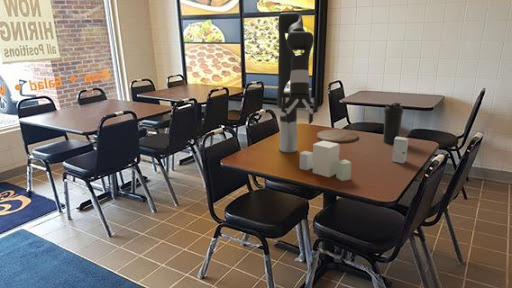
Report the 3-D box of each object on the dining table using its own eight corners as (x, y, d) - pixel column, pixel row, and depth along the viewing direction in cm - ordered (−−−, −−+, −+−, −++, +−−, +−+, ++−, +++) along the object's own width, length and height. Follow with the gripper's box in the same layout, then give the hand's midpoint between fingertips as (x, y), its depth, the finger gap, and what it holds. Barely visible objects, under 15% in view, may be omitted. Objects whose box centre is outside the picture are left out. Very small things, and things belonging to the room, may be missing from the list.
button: (329, 162, 168) (329, 150, 166) (318, 160, 172) (318, 147, 170) (340, 157, 174) (340, 145, 172) (329, 155, 178) (329, 143, 176)
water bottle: (404, 143, 212) (407, 104, 206) (390, 145, 209) (393, 105, 202) (391, 138, 221) (395, 101, 215) (378, 141, 218) (380, 102, 211)
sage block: (336, 177, 167) (336, 160, 164) (344, 175, 168) (345, 159, 166) (341, 180, 163) (342, 164, 160) (350, 179, 164) (351, 162, 162)
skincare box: (391, 161, 184) (393, 138, 180) (393, 159, 188) (395, 136, 184) (404, 163, 181) (406, 140, 177) (406, 161, 184) (408, 137, 181)
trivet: (365, 137, 228) (365, 134, 228) (343, 146, 212) (343, 143, 211) (331, 130, 246) (332, 127, 245) (308, 138, 229) (308, 135, 228)
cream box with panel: (328, 177, 167) (329, 148, 163) (312, 172, 173) (313, 144, 169) (338, 172, 172) (339, 143, 168) (322, 168, 178) (323, 140, 174)
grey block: (299, 168, 179) (299, 153, 176) (305, 166, 182) (305, 150, 179) (307, 170, 176) (307, 154, 173) (312, 168, 179) (312, 152, 176)
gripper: (315, 84, 149) (314, 124, 150) (280, 83, 149) (280, 123, 149) (319, 81, 142) (319, 123, 142) (283, 81, 141) (282, 123, 142)
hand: (299, 123), depth 146 cm, fingers open, 8 cm apart
